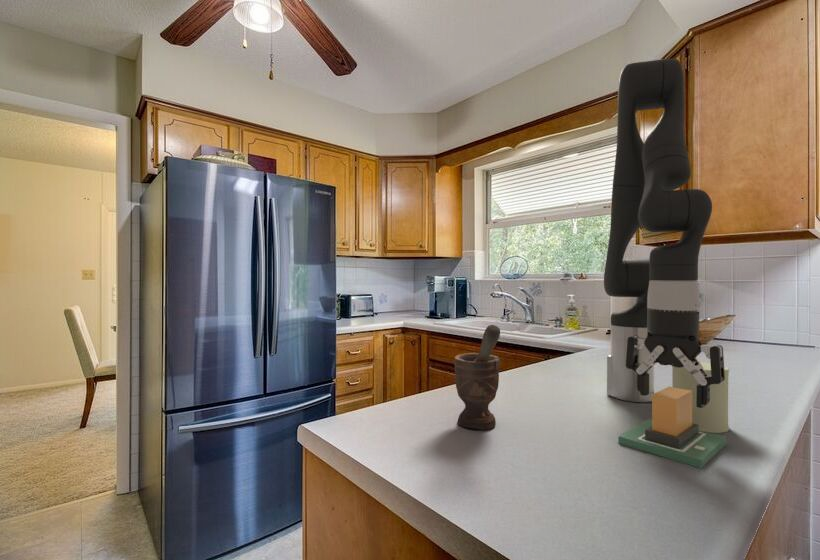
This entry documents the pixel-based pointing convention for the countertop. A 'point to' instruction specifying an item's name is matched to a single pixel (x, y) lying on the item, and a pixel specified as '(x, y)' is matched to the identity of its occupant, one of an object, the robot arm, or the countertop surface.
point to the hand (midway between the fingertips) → (671, 400)
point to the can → (716, 410)
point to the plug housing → (672, 410)
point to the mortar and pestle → (478, 382)
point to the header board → (672, 454)
